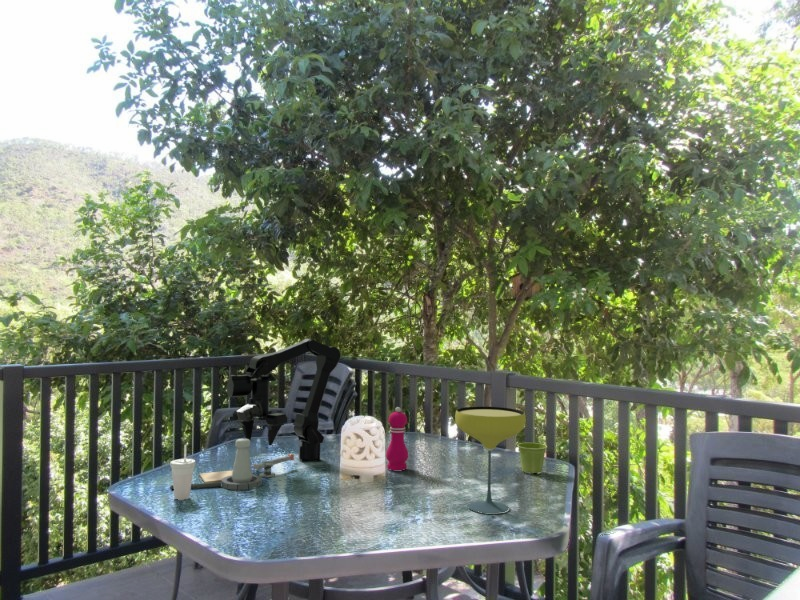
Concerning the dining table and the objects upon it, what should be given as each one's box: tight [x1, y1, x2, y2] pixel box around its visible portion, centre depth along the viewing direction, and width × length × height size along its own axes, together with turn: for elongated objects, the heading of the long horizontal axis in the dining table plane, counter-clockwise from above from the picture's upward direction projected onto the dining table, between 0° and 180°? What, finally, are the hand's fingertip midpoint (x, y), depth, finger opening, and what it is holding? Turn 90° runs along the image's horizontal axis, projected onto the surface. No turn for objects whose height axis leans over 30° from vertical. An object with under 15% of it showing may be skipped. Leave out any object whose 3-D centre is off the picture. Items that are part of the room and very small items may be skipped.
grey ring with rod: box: [169, 474, 263, 491], centre depth 178 cm, size 25×11×2 cm, turn 107°
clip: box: [252, 453, 295, 470], centre depth 193 cm, size 17×3×2 cm, turn 150°
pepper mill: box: [385, 406, 409, 470], centre depth 202 cm, size 7×7×20 cm
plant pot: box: [516, 442, 548, 473], centre depth 200 cm, size 9×9×9 cm
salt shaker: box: [232, 437, 253, 483], centre depth 180 cm, size 6×6×13 cm
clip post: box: [258, 467, 276, 479], centre depth 190 cm, size 5×5×3 cm
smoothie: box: [169, 444, 196, 501], centre depth 166 cm, size 6×6×14 cm
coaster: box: [198, 469, 233, 483], centre depth 187 cm, size 10×10×1 cm
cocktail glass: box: [454, 406, 527, 513], centre depth 162 cm, size 18×18×25 cm
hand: (259, 443), depth 201 cm, fingers open, 9 cm apart
